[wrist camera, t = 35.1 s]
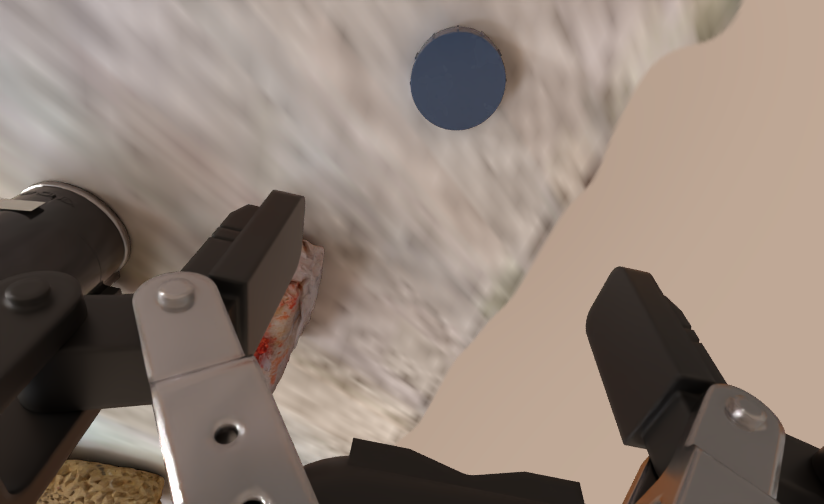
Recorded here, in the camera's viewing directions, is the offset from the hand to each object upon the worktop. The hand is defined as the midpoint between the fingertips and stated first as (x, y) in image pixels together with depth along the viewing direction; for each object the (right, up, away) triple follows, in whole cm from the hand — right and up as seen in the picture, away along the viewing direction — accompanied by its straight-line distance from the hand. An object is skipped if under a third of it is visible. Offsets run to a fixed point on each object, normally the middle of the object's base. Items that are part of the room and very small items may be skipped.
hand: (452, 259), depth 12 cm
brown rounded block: (-45, -30, +52) cm, 75 cm away
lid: (+2, +11, +17) cm, 20 cm away
